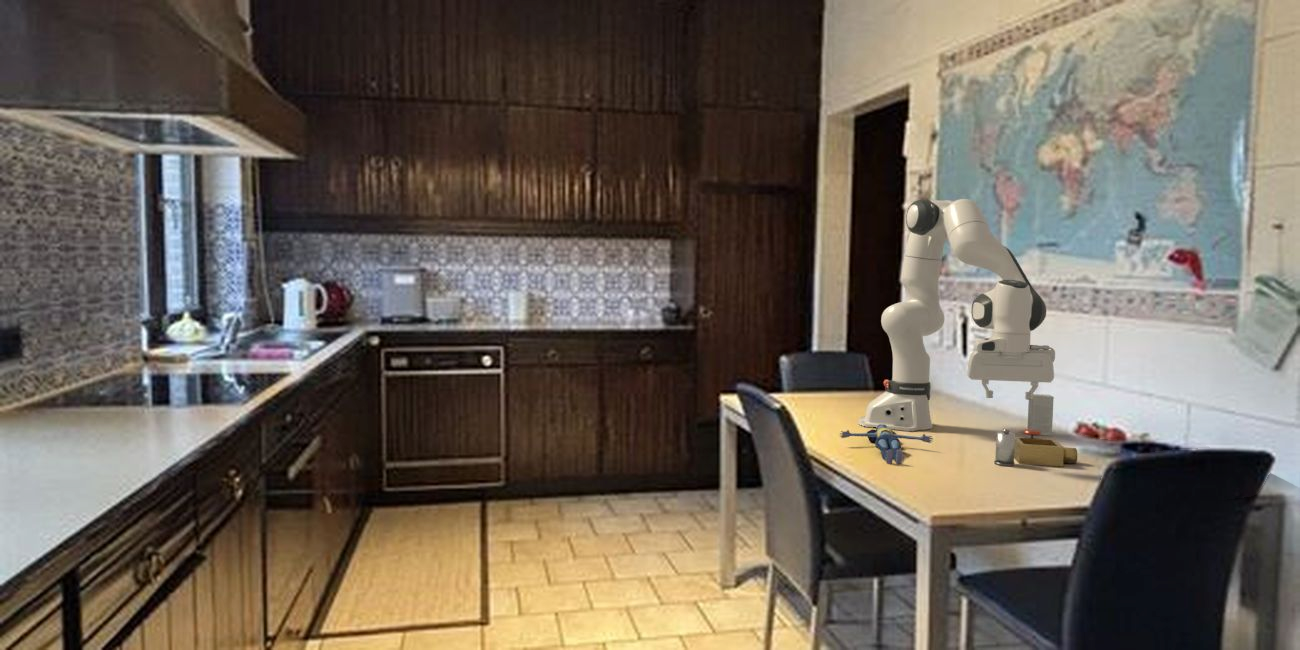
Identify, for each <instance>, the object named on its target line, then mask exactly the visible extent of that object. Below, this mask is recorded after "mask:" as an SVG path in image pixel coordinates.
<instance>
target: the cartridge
mask: <svg viewBox="0 0 1300 650" xmlns="http://www.w3.org/2000/svg"><path fill="white" fill-rule="evenodd" d="M1015 437H1016V433H1014V432H1010V429H1005V428H1004V429H1002V431H997V432H996V437H995V438H996V441H995V442H996V444H995V459H994V465H996V466H1000V467H1007V468H1009V467H1010V468H1012V467H1015V458H1014V451H1015Z"/></svg>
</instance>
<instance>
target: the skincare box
mask: <svg viewBox="0 0 1300 650" xmlns="http://www.w3.org/2000/svg"><path fill="white" fill-rule="evenodd" d="M1054 399H1055V398H1054V396H1053V395H1051V394H1038V393H1037V394H1036V393H1035V394H1034V393H1033V400H1028V404H1027V405H1028V408H1027V411H1028V412H1027V429H1030V430H1038V431H1041V435H1040V436H1047V437H1048V436H1053V418H1054Z"/></svg>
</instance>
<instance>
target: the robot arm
mask: <svg viewBox="0 0 1300 650" xmlns="http://www.w3.org/2000/svg"><path fill="white" fill-rule="evenodd" d="M905 224H906V226H907V229H908V231H909V236H908V239H907V242H906V246H905V251H904V257H903V264H902V268H901V269H902V272H901V278H900V280H901V283H902V285H903V287H904V289H905V290H904V291H905V301H900V302H897V303H894V304H891V305H890V306H888V307H886V308H885V309H884V310H883V312H882V314H881V320H880V322H881V327H882V329H883V331H884V332H885V333H886V335H887V336H888V338H889V339H888V340H889V343H890V346H891V352H892V378H891V380H889V379H884V381H883V386H884V389H885V391H884V392H883V393H881V394H880V395H878V396H877V397H875V398H874V399H872V400H871V401H870V402H869V403H868V404H867V407H866V408H865V414H864V415H865V416H861V417H859V418H858V420H857V421H858V422H857V423H858V425H859V424H860V426H861V425H862V426H861V427H864V426H865V427H866V428H873V427H876V428H875V429H877V426H878V425H880V424H883V425H886V426H887V428H888V429H891V430H894V429H895V431H906V432H915V431H920V430H921V431H924V430H930V429H932V428H933V423H932V418H931V411H930V398H931V388H932V387H931V382H930V368H931V357H930V355H929V353H928V352H927V351H926V348H925V344H924V339H923V338H924V337H927V336H931V335H932V334H935V333H936V332H938V331H939V330H941V329H942V327H943V326H944V323H945V313H944V311H943V310H942V307H941V305H940V304H941V303H940V296H939V279H940V274H941V267H942V261H943V255H944V254H943V253H944V247H945V243H947V241H948V242H949V245H950V248H951V251H952V254H954V255H955V257H956V259H958V260H959V261H960V262H962V263H964V264H966V265H969V266H973V267H978V268H980V269H983V270H987V271H989V272H993V273H994V274H995V275H997V276H999V278H1000V279H1001V280H999V281H998V282H997V283H996V285H995V287H994V288H993V289H991V290H989V291H987V292H983V293H980V294H978V295H977V297H976V298H975V299H974V300H973V301H972V304H971V319H972V321H974V323H975V324H976V325H977V326H978V327H980V328H982V329H989V330H993V331H992V336H991V337H986V338H983V339H979V340H976V341H974V342H973V348H974V350H973V351H972V352H971V354H970V355H969V358H968V364H967V374H966V375H967V376H968V378H969V379H970V380H974V381H981V385H982V387H983V388H984V390H985V398H987V399H993V398H994V391H993V390H990V389H989V387H988V386H987V385H989V381H996V382H997V381H1001V382H1002V381H1004V382H1025V383H1026V382H1027V383H1028V382H1029V383H1030V386H1031V388H1030V389H1029V391H1025V394H1024V395H1025V400H1027V401H1029V400H1033V394H1034V393H1035V392H1036V390H1037V389H1038V387H1039V383H1052V382H1053V381H1054V379H1055V369H1054V362H1055V360H1056V351H1055V349H1054V348H1053V347H1050V346H1049V345H1038V344H1031V335H1032V334H1031V333H1032V332H1033V331H1035V330H1036V329H1037V328H1039V327H1040V326H1041V324H1042V323H1043V322H1044V320H1045V318H1046V317H1047V307H1046V303H1045V301H1044V300H1043V298H1042V297H1041V296H1040V295H1039V294H1038V292H1037V291H1036V290H1035V289H1034V286H1033V285H1032V284H1031V281H1029V279H1028V277H1027V275H1026V274H1025V272H1024V271H1023V268H1022V267H1021V266H1020V263H1019V262H1018V260H1017V259H1016V256H1015V255H1014V254H1013V253H1012V251H1011V250H1010V249H1009V248H1008V247H1006V246H1005V245H1003V243H1001V242H1000V241H999V240H998V238H996V236H995V235H994V234H993V232H992V231H991V229H990V227H989V224H988V221H987V220H986V217H985V216H984V213H983V212H982V210H981V209H980V207H979V206H978V204H977V203H976V202H975V201H973V200H972V199H969V198H960V199H956V200H949V199H948V200H947V199H945V200H938V199H937V200H936V199H935V200H934V199H931V200H929V199H927V198H925V199H917V200H914V201H912V203H911V204H910V205H909V206H908V208H907V210H906V214H905Z"/></svg>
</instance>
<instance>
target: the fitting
mask: <svg viewBox="0 0 1300 650" xmlns="http://www.w3.org/2000/svg"><path fill="white" fill-rule="evenodd" d="M1022 431H1023V432H1022V434H1024V435H1026V436H1030V437H1023V436H1015V451H1014V460H1015V461H1016V462H1017V463H1018V464H1019V465H1028V466H1030V465H1031V466H1042V467H1043V466H1045V467H1057V466H1060V468H1063V467H1064V464H1073V463H1074V465H1075V464H1077V462H1078V449H1077V447H1064V446H1063V445H1062V444H1061V443H1059V442H1058V441H1057V439H1055V438H1038V437H1039V436H1042V435H1041V431H1038V430H1030V429H1028V428H1027V429H1023V430H1022ZM1035 436H1037V437H1035Z"/></svg>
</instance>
